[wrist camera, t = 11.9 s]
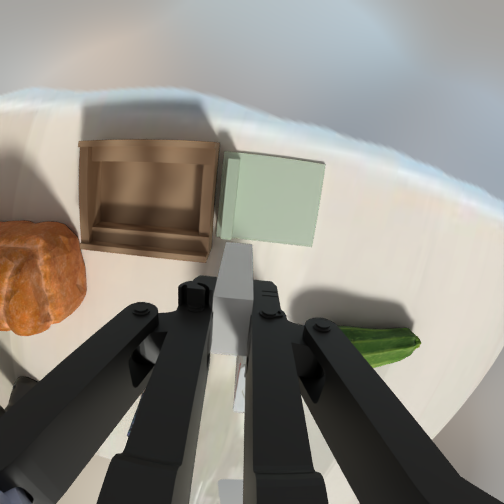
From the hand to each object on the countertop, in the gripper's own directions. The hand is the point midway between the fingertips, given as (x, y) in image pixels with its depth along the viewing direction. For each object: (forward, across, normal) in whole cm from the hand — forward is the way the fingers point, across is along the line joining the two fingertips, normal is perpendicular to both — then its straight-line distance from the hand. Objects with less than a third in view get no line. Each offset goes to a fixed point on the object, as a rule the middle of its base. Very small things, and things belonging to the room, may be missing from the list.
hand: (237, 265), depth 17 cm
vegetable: (+20, +20, -18) cm, 33 cm away
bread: (+20, -35, -11) cm, 42 cm away
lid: (+20, +3, +1) cm, 20 cm away
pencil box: (+19, -12, +1) cm, 22 cm away
